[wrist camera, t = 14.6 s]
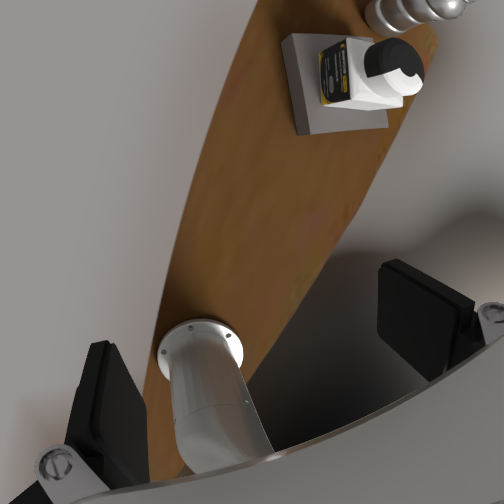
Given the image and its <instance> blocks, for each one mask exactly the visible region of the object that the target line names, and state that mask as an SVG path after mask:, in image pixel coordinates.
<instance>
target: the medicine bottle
mask: <svg viewBox="0 0 504 504" xmlns="http://www.w3.org/2000/svg"><path fill="white" fill-rule="evenodd" d="M319 68H320V85H321V104H322V105H323V106H329V107H340V108H350V109H359V110H367V111H369V110H378V109H387V108H398V107H402V106H403V96H407V95H413V94H415V93H417V92H418V91H419V90H420V89H421V87H422V85H423V81H424V67H423V63H422V60H421V58H420V56H419V55H418V53H417V52H416V50H415V49H414V48H413V47H412V46H411V45H410V44H408V43H407V42H405V41H404V40H401V39H398V38H389V39H386V40H384V41H381V42H378V43H376V44H374V43H370V42H366V41H362V40H358V39H354V38H346V39H344V40H342V41H340V42H338V43H336V44H334V45H332V46H330V47H329V48H327V49H325V50H323V51H321V52H320V53H319Z"/></svg>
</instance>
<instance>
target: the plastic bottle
mask: <svg viewBox="0 0 504 504" xmlns="http://www.w3.org/2000/svg"><path fill="white" fill-rule="evenodd" d="M476 1H479V0H372V1H371V2H370V3H369V4H368V5H367V6H366V8H365V20H366V22H367V24H368V25H369V27H370V28H371V29H372V30H373V31H374V32H375V33H377V34H379V35H381V36H383V37H397V36H399V35H401V34H402V33H404V32H405V31H407V30H408V29H410V28H412V27H415V26H417V25H419V24H423V23H428V22H432V21H441V20H452V19H456V18H458V17H459V16H460V15H461V14H462V13H463V11H464V9H465V6H466V3H468V4H472V3H474V2H476Z"/></svg>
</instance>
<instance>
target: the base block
mask: <svg viewBox="0 0 504 504" xmlns="http://www.w3.org/2000/svg"><path fill="white" fill-rule="evenodd" d="M346 38H354V39H358V40H362V41H366V42H370V43H373V39H372V38H368V37H358V36H347V35H332V34H301V33H292V34H291V35H289V36H288V37H287V38H286V39H285V40H283V41H282V42H281V48H282V53H283V58H284V63H285V68H286V73H287V78H288V84H289V89H290V95H291V100H292V106H293V112H294V118H295V124H296V130H297V136H298V135H311V134H319V133H328V132H338V131H348V130H360V129H373V128H388V119H387V112H386V109H378V110H369V111H367V110H359V109H350V108H340V107H329V106H323V105H322V104H321V85H320V68H319V53H320V52H321V51H323V50H325V49H327V48H329V47H330V46H332V45H334V44H336V43H338V42H340V41H342V40H344V39H346Z"/></svg>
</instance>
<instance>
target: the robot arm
mask: <svg viewBox="0 0 504 504" xmlns="http://www.w3.org/2000/svg"><path fill="white" fill-rule="evenodd" d="M474 306H475V302H474V301H473V300H471V299H469V298H468V297H466V296H464V295H463V294H461V293H459V292H457V291H455V290H454V289H452V288H450V287H448V286H447V285H445V284H443V283H441V282H439V281H437V280H436V279H434V278H432V277H430V276H429V275H426V274H425V273H423V272H421V271H419V270H418V269H416V268H414V267H412V266H410V265H408V264H406V263H404V262H402V261H400V260H399V259H393V260H390V261H387V262H384V263H383V264H382V265H381V268H380V269H379V271H378V317H377V332H378V334H379V336H380V338H381V339H382V340H384V341H385V342H386V343H387V344H388V345H389V346H390V347H391V348H392V349H393V350H395V351H396V352H397V353H398V354H399V355H400V356H401V357H402V358H403V359H404V360H405V361H407V362H408V363H409V364H410V365H411V366H412V367H413V368H414V369H415V370H416V371H417V372H419V373H420V374H421V375H422V376H423V377H424V378H425V379H426V380H427V381H428V382H429V383H428V384H426V385H424V386H423V387H421V388H419V389H417V390H416V391H414V392H412V393H410V394H408V395H407V396H405V397H403V398H401V399H399V400H397V401H396V402H394V403H392V404H390V405H388V406H386V407H384V408H382V409H380V410H378V411H376V412H374V413H372V414H370V415H368V416H366V417H364V418H362V419H360V420H357V421H355V422H353V423H351V424H349V425H347V426H344V427H342V428H340V429H337V430H335V431H332V432H330V433H328V434H325V435H323V436H320V437H318V438H316V439H313V440H311V441H307V442H305V443H302V444H299V445H297V446H294V447H291V448H288V449H286V450H282V451H280V452H277V453H275V452H274V450H273V448H272V446H271V445H270V443H269V440H268V438H267V436H266V434H265V432H264V429H263V427H262V424H261V422H260V420H259V417H258V415H257V412H256V410H255V407H254V405H253V402H252V400H251V397H250V395H249V392H248V390H247V387H246V385H245V382H244V379H243V377H242V374H241V372H240V369H239V368H240V366H241V363H242V360H243V347H242V344H241V342H240V339H239V338H238V336H237V334H236V333H235V332H234V331H233V330H232V329H231V328H230V327H229V326H227V325H225V324H223V323H221V322H219V321H215V320H212V319H193V320H188V321H185V322H182V323H180V324H178V325H176V326H175V327H173V328H171V329H170V330H169V331H168V332H167V333H166V334H165V335H164V337H163V338H162V340H161V342H160V344H159V347H158V352H157V354H158V358H157V359H158V365H159V367H160V370H161V372H162V373H163V375H164V376H165V377H166V378H167V379H168V380H169V381H170V388H171V399H172V409H173V418H174V427H175V435H176V443H177V448H178V451H179V453H180V455H181V457H182V459H183V460H184V462H185V463H186V464H187V465H188V467H189V468H190V469H191V470H192V471H194V472H195V473H196V475H191V476H186V477H181V478H176V479H171V480H159V481H150V477H149V463H148V443H147V410H146V405H145V403H144V400H143V398H142V397H141V395H140V393H139V391H138V389H137V387H136V385H135V383H134V381H133V380H132V378H131V376H130V374H129V372H128V369H127V367H126V365H125V363H124V361H123V359H122V357H121V355H120V353H119V351H118V349H117V347H116V345H115V344H114V343H112V344H110V342H109V341H108V340H105V341H100V342H96V343H92V344H91V345H90V348H89V351H88V355H87V358H86V362H85V365H84V369H83V373H82V377H81V380H80V384H79V386H78V388H77V390H76V393H75V397H74V401H73V405H72V410H71V414H70V419H69V423H68V428H67V433H66V437H65V442H64V444H57V445H53V446H50V447H48V448H46V449H45V450H44V451H43V452H42V453H40V455H39V456H38V458H37V459H36V462H35V466H34V467H35V469H34V470H35V474H36V477H37V479H38V480H37V481H36V482H35V483H34V484H32V485H31V486H30V487H29V488H27V489H26V490H25V491H24V492H22V493H21V494H20V495H19V496H17V497H16V498H15V499H14V500H13V501H11V502H10V503H9V504H504V304H501V303H498V302H488V303H484V304H482V305H481V306H480V307H479V308H478V311H477V313H476V312H475V311H474Z"/></svg>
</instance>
